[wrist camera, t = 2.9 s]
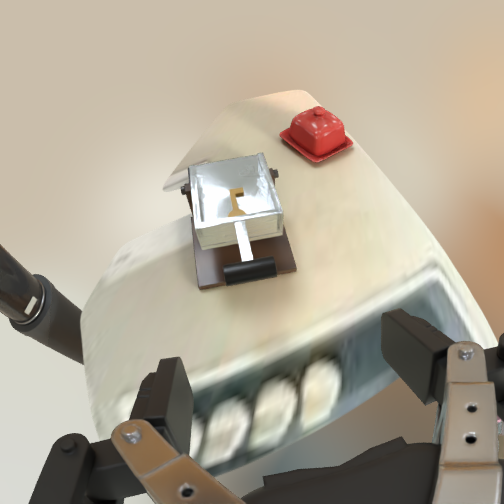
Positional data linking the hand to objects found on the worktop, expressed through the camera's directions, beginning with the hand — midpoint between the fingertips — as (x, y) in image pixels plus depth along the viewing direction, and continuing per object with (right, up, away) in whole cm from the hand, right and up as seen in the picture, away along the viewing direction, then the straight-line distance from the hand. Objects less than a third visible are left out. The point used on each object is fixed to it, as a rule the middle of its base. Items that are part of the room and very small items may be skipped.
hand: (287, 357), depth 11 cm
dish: (-3, +8, +29) cm, 30 cm away
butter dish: (+12, +26, +49) cm, 57 cm away
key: (-4, +10, +29) cm, 31 cm away
